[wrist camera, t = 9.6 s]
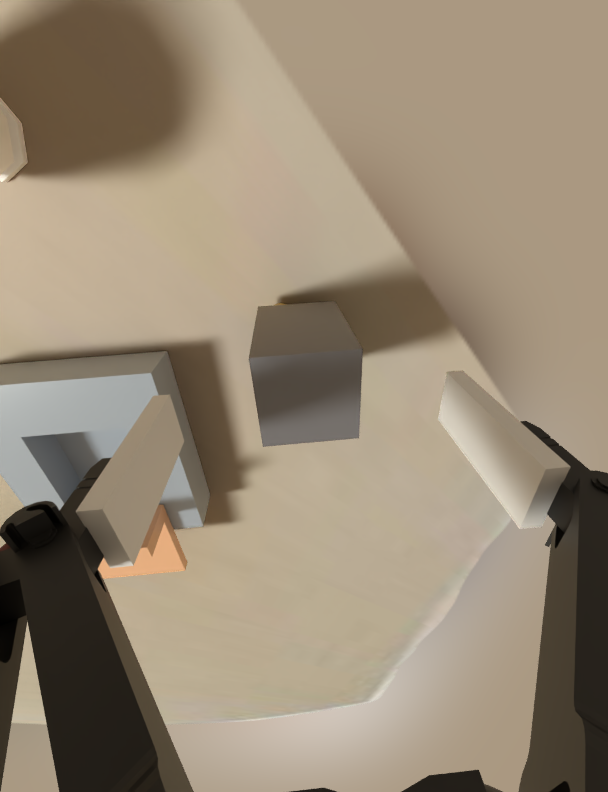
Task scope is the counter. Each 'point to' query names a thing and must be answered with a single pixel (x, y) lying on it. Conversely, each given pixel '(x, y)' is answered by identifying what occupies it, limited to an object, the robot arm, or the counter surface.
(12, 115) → the cup
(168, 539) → the orange l-shaped bracket
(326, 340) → the plug
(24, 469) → the socket block
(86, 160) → the counter surface
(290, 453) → the counter surface
